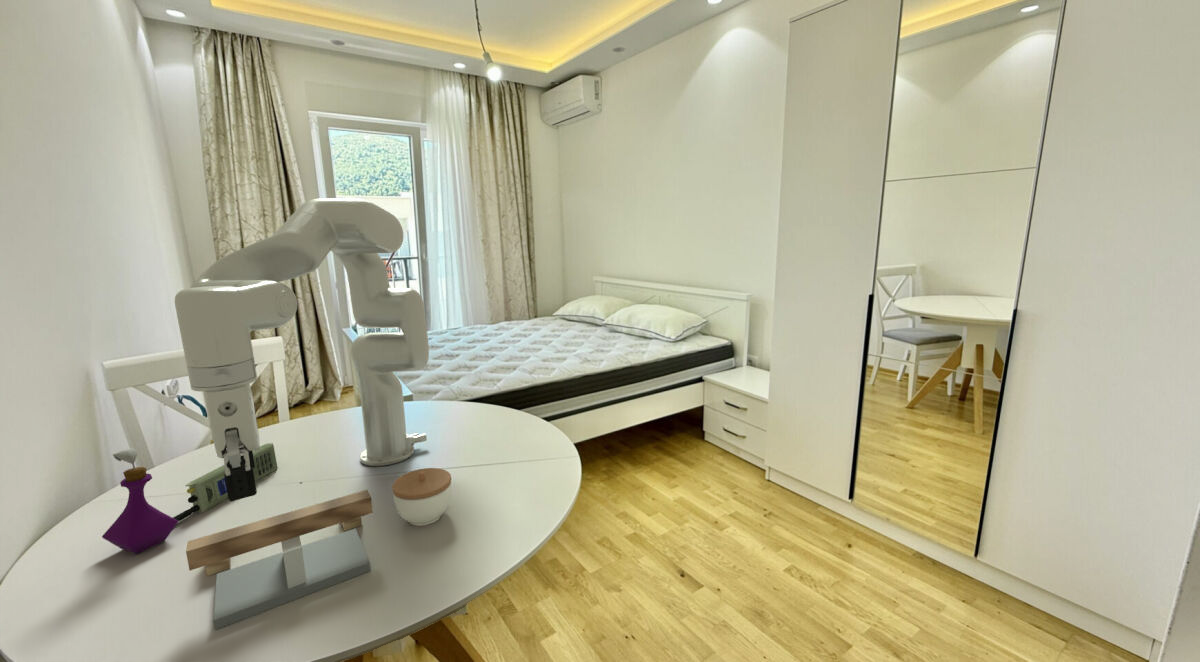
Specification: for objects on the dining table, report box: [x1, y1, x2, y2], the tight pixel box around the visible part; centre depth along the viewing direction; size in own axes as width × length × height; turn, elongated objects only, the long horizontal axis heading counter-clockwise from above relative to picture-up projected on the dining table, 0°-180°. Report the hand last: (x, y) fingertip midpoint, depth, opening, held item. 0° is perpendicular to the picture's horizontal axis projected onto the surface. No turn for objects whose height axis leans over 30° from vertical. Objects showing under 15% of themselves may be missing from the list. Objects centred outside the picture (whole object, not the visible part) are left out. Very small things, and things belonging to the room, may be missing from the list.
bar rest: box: [205, 516, 363, 576], centre depth 86 cm, size 23×5×4 cm, turn 127°
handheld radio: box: [172, 442, 279, 523], centre depth 102 cm, size 7×3×25 cm
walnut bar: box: [185, 489, 374, 571], centre depth 75 cm, size 24×3×3 cm, turn 127°
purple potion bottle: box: [101, 448, 179, 555], centre depth 84 cm, size 8×8×18 cm
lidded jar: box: [391, 467, 452, 527], centre depth 93 cm, size 11×11×9 cm
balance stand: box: [213, 527, 371, 631], centre depth 76 cm, size 20×12×8 cm, turn 127°
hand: (243, 483), depth 71 cm, fingers open, 9 cm apart
